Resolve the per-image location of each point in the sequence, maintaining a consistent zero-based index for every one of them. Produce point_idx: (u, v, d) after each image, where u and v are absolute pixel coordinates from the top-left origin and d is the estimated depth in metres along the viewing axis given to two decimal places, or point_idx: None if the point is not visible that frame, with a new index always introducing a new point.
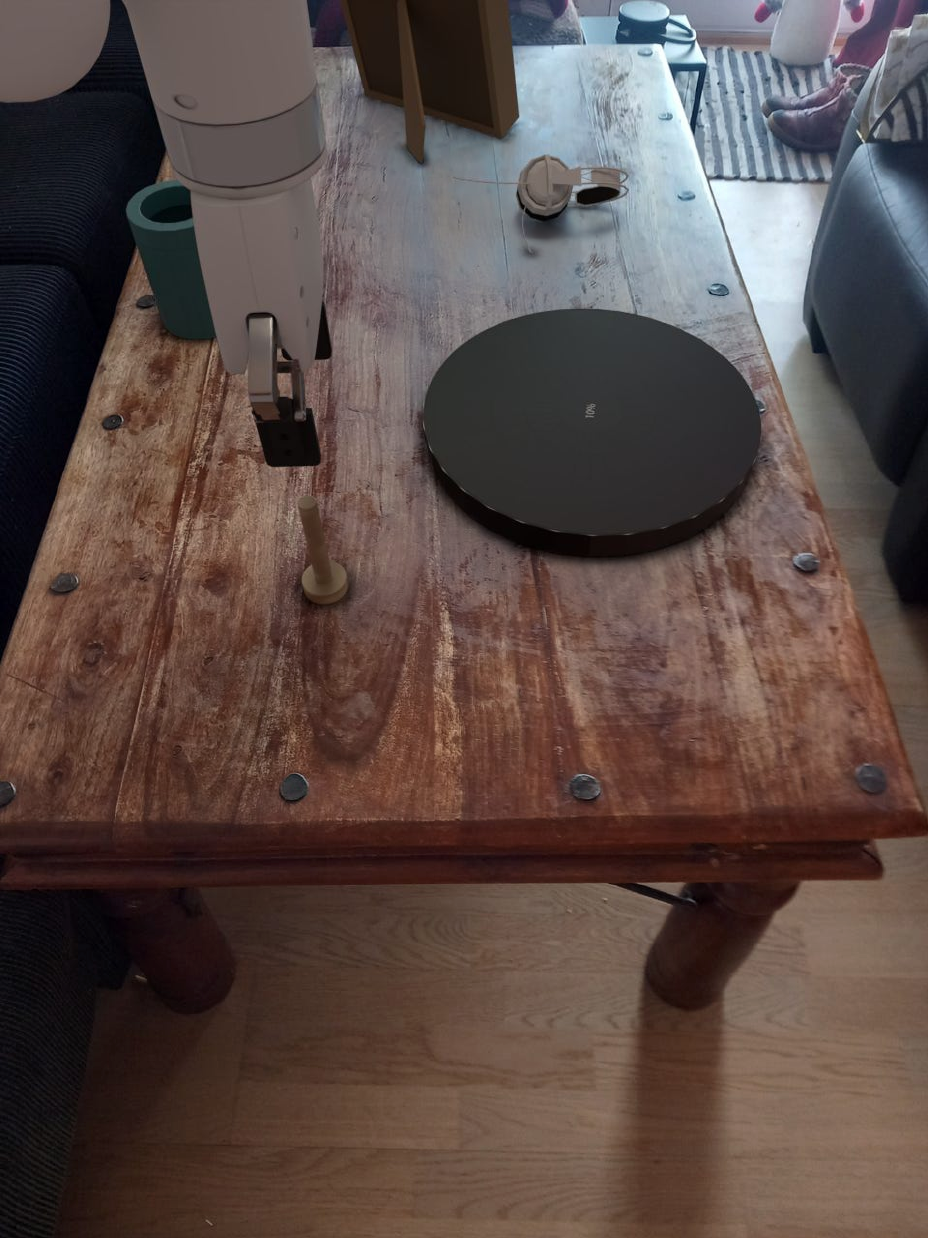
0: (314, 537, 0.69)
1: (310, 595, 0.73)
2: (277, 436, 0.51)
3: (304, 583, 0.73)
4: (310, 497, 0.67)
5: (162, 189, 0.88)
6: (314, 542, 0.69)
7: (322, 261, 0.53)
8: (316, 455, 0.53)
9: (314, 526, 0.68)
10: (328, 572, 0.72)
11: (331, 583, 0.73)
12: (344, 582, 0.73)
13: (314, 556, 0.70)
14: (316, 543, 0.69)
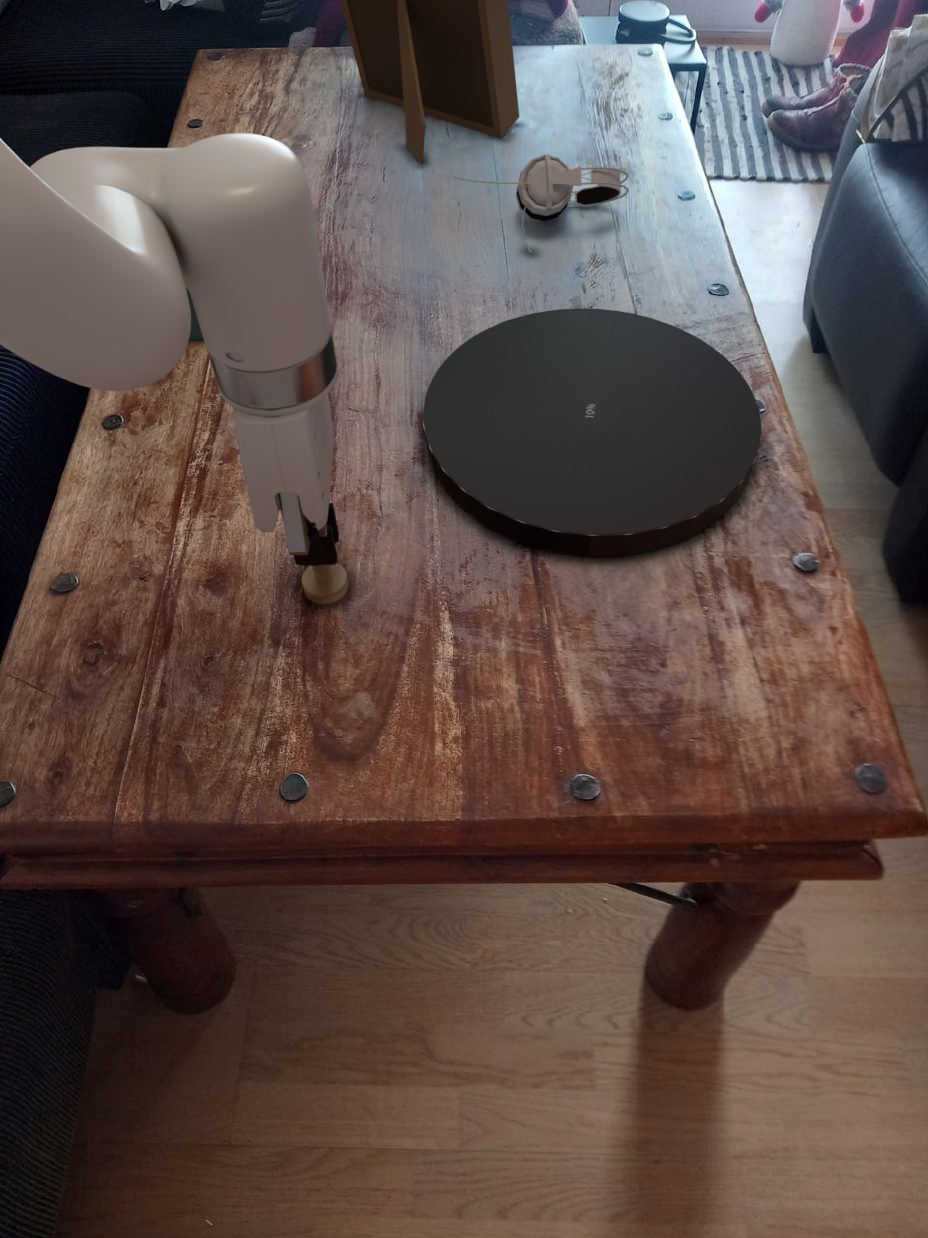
0: None
1: (310, 595, 0.73)
2: None
3: (304, 583, 0.73)
4: None
5: None
6: None
7: None
8: (334, 557, 0.70)
9: None
10: (328, 572, 0.72)
11: (331, 583, 0.73)
12: (344, 582, 0.73)
13: None
14: None
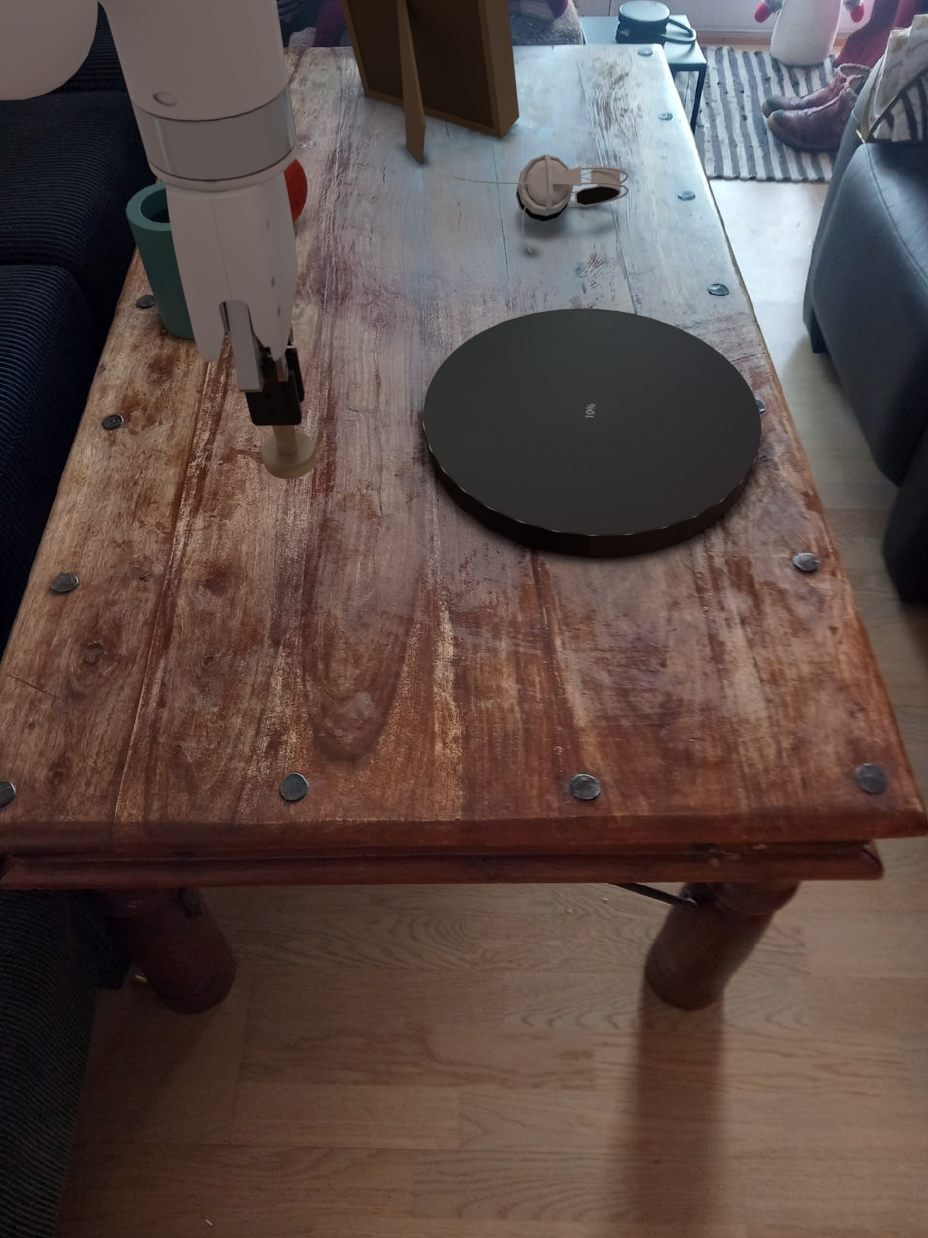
0: None
1: (271, 467, 0.62)
2: (262, 395, 0.57)
3: (264, 454, 0.62)
4: None
5: (162, 189, 0.88)
6: None
7: (296, 254, 0.55)
8: (297, 415, 0.59)
9: None
10: (292, 439, 0.62)
11: (296, 454, 0.62)
12: (311, 453, 0.63)
13: None
14: None
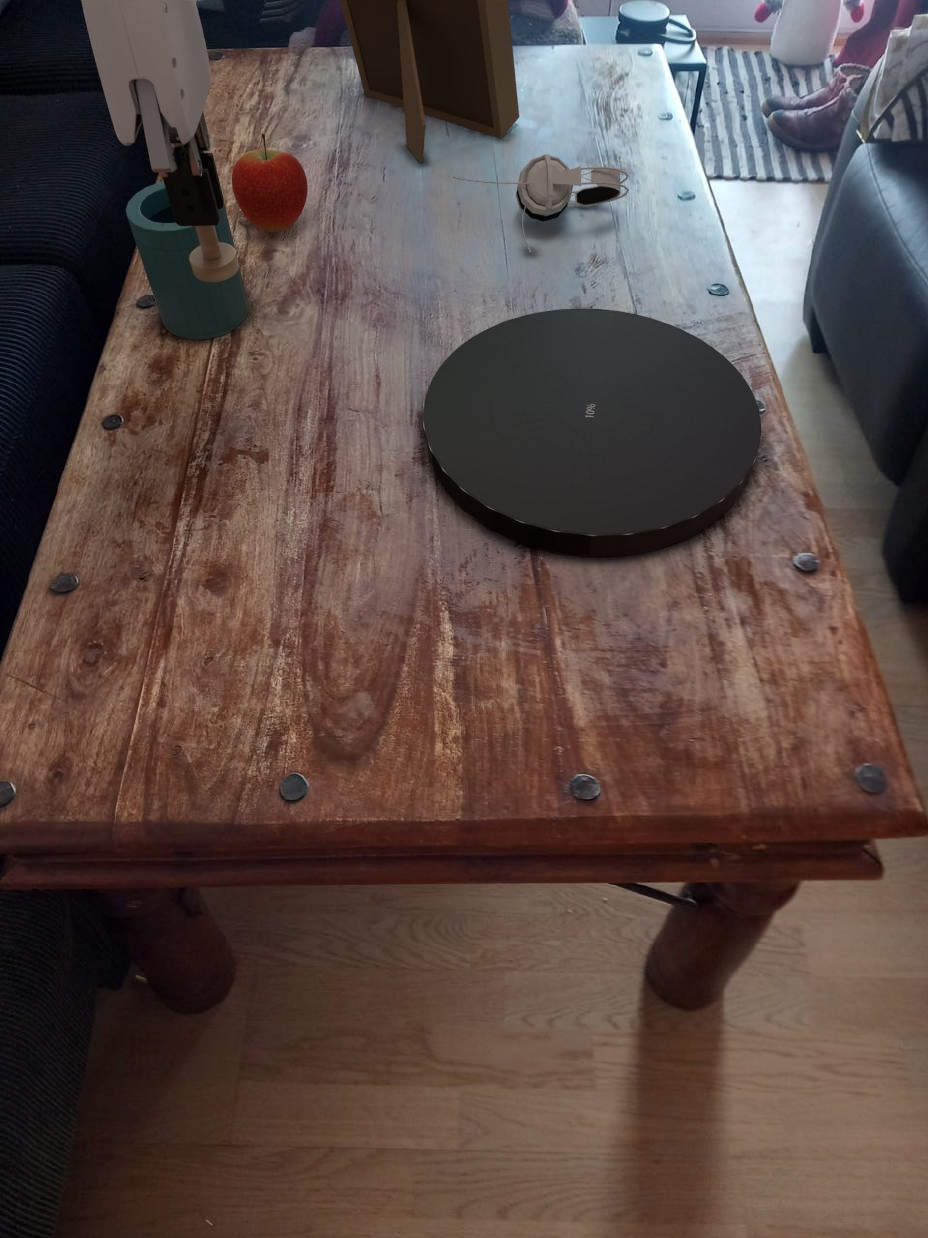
0: None
1: (197, 270, 0.71)
2: (180, 191, 0.65)
3: (191, 259, 0.71)
4: None
5: (162, 189, 0.88)
6: None
7: (207, 63, 0.63)
8: (215, 214, 0.67)
9: None
10: (215, 244, 0.70)
11: (219, 259, 0.71)
12: (233, 258, 0.71)
13: None
14: None
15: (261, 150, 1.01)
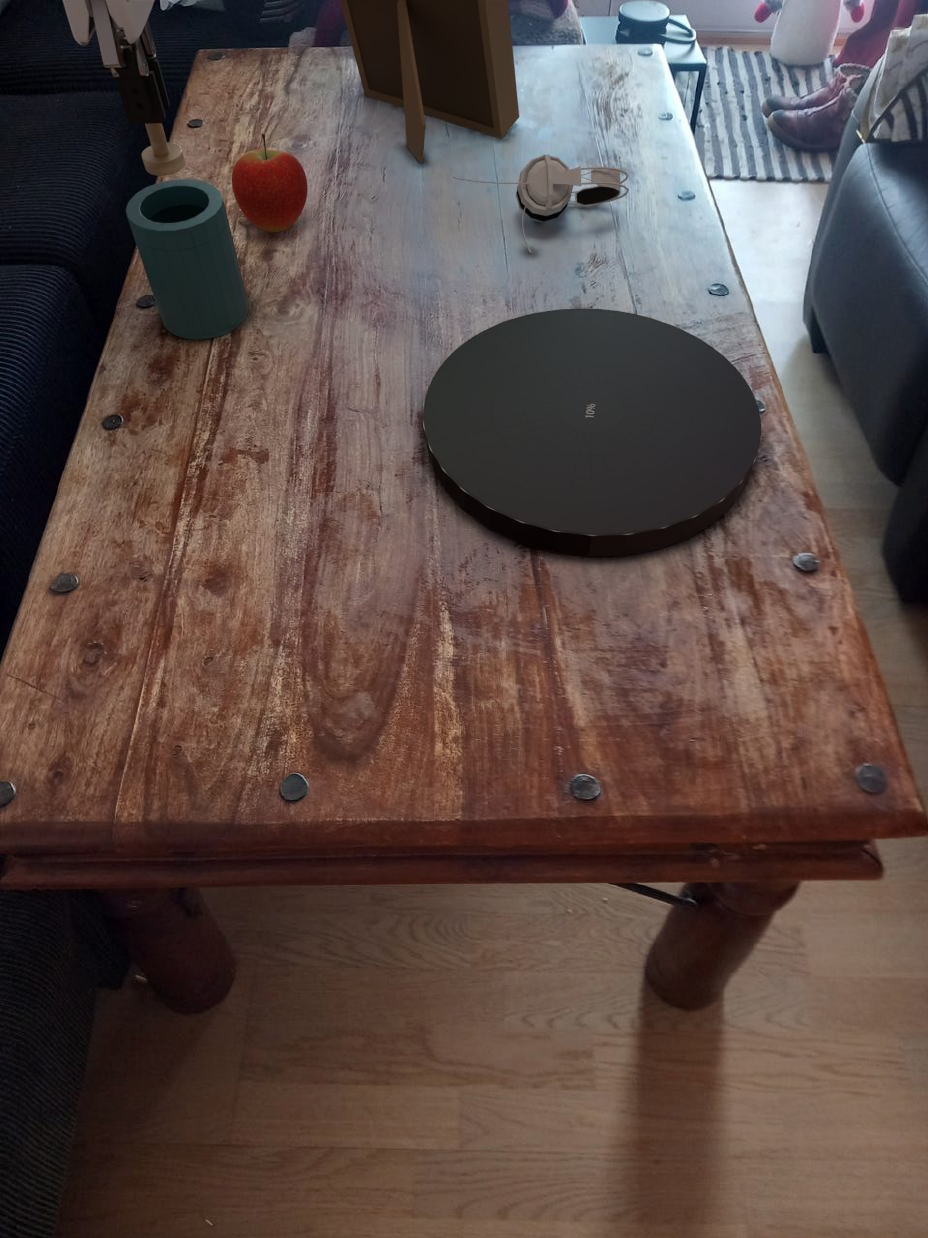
0: None
1: (148, 165, 0.82)
2: (130, 90, 0.76)
3: (143, 155, 0.82)
4: None
5: (162, 189, 0.88)
6: None
7: None
8: (161, 113, 0.79)
9: None
10: (163, 141, 0.81)
11: (167, 155, 0.82)
12: (179, 155, 0.82)
13: None
14: None
15: (261, 150, 1.01)
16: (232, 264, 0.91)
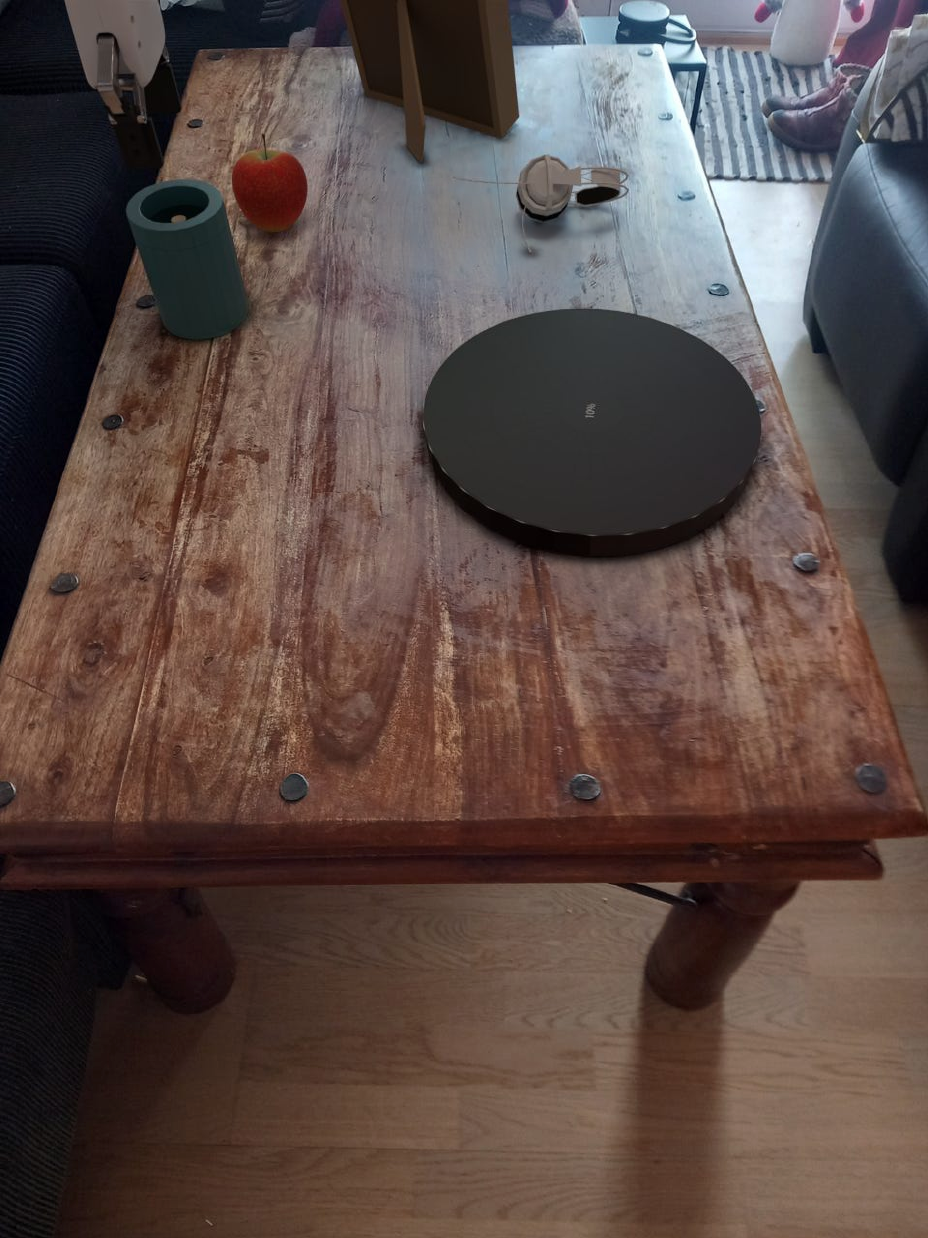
0: None
1: None
2: (128, 137, 0.76)
3: None
4: (181, 216, 0.88)
5: (162, 189, 0.88)
6: None
7: (161, 24, 0.78)
8: (159, 158, 0.78)
9: None
10: None
11: None
12: None
13: None
14: None
15: (261, 150, 1.01)
16: (232, 264, 0.91)
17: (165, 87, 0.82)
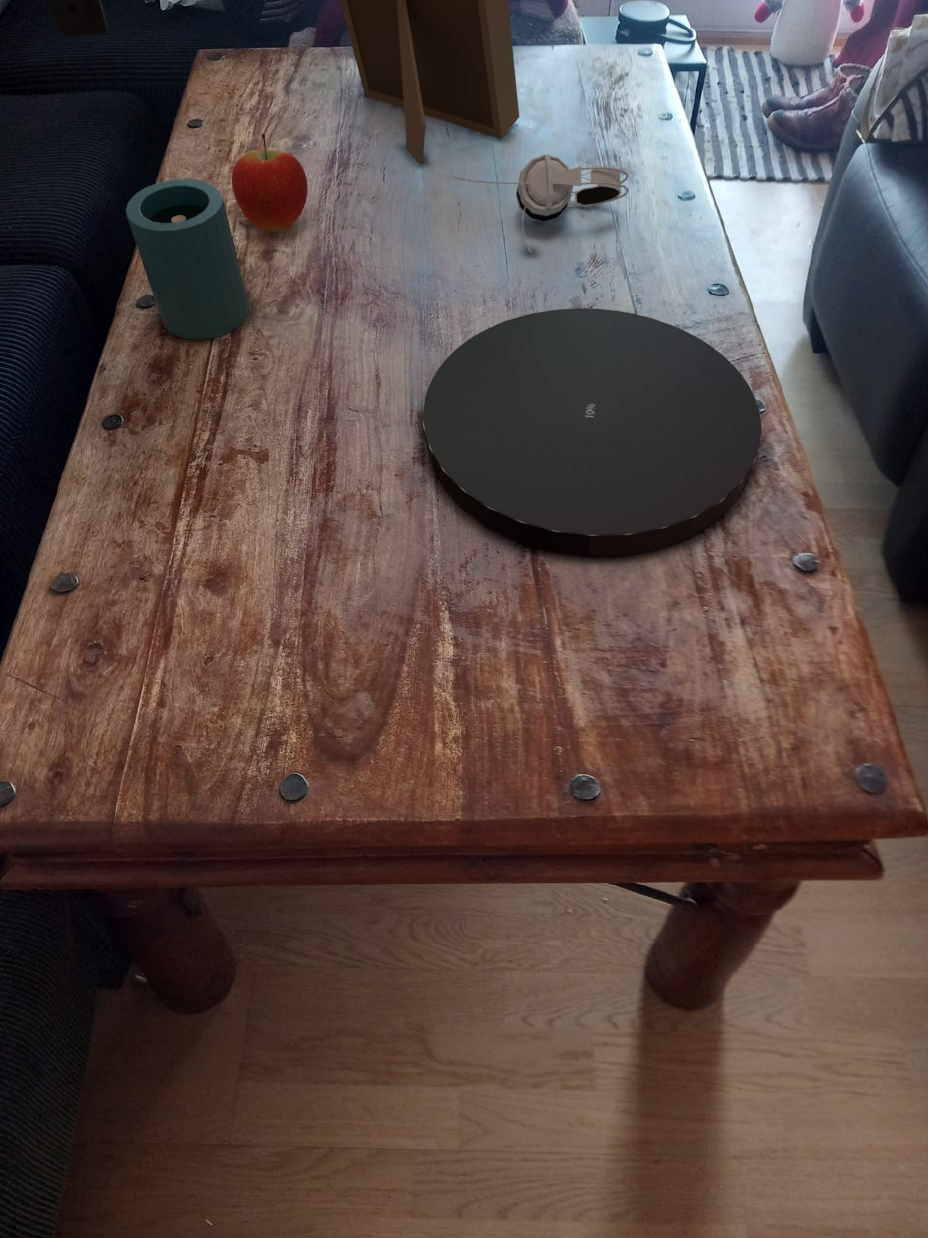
0: None
1: None
2: None
3: None
4: (181, 216, 0.88)
5: (162, 189, 0.88)
6: None
7: None
8: (101, 20, 0.61)
9: None
10: None
11: None
12: None
13: None
14: None
15: (261, 150, 1.01)
16: (232, 264, 0.91)
17: None
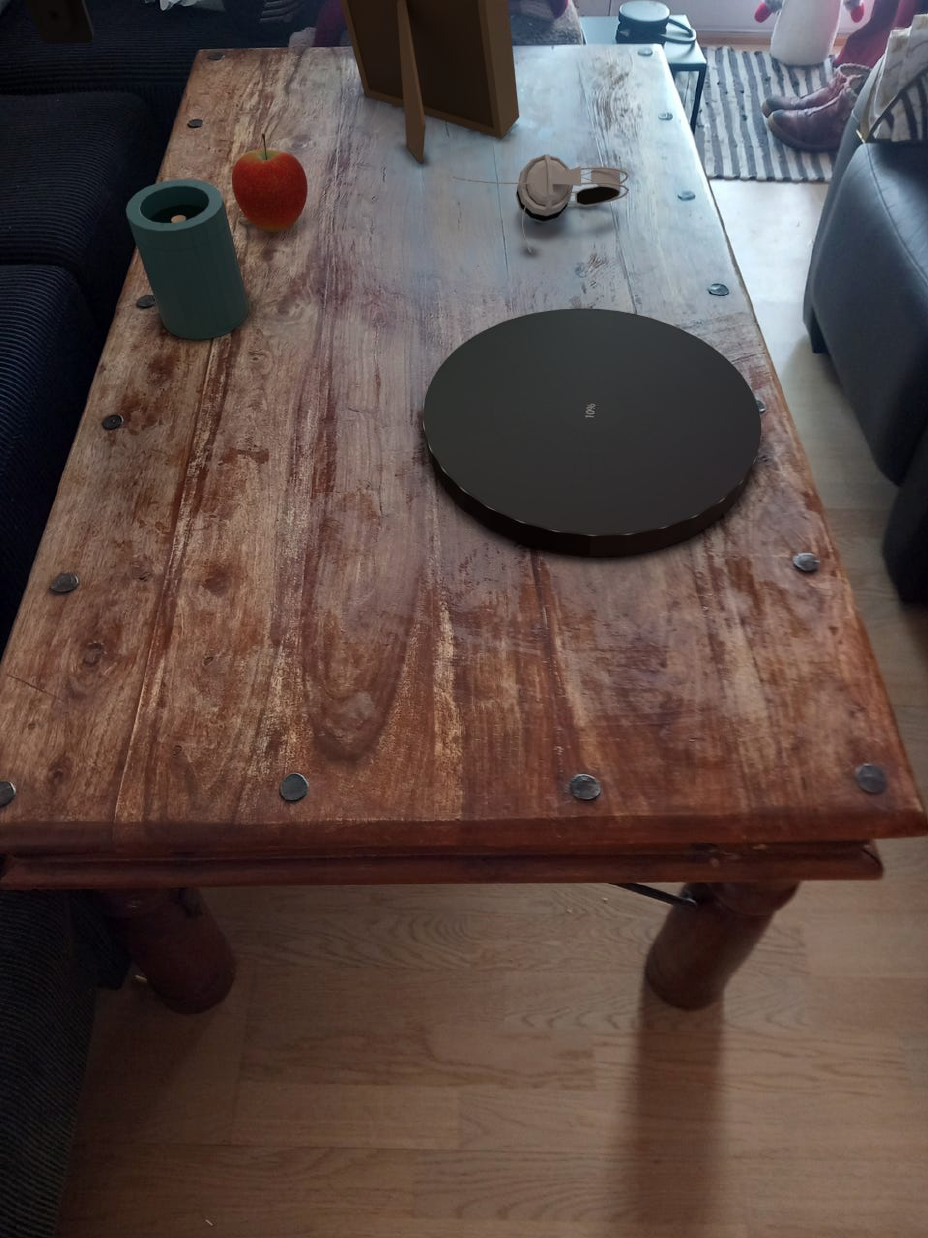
0: None
1: None
2: None
3: None
4: (181, 216, 0.88)
5: (162, 189, 0.88)
6: None
7: None
8: (87, 27, 0.55)
9: None
10: None
11: None
12: None
13: None
14: None
15: (261, 150, 1.01)
16: (232, 264, 0.91)
17: None
